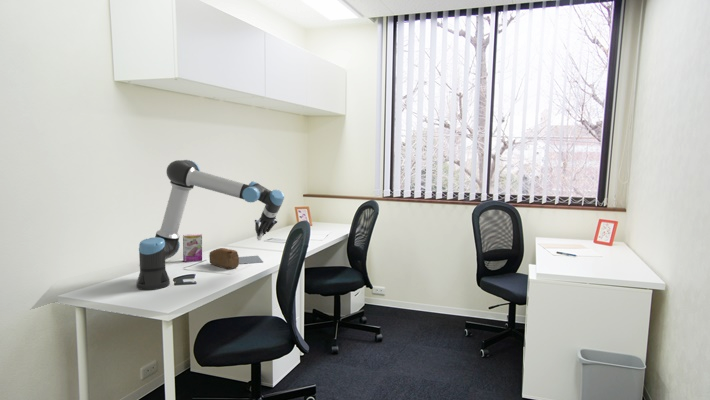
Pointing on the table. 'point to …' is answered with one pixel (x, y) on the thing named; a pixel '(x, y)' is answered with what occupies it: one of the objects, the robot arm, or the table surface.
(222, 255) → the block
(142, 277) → the robot arm
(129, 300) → the table surface
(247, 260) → the mat
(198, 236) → the candy bar box
